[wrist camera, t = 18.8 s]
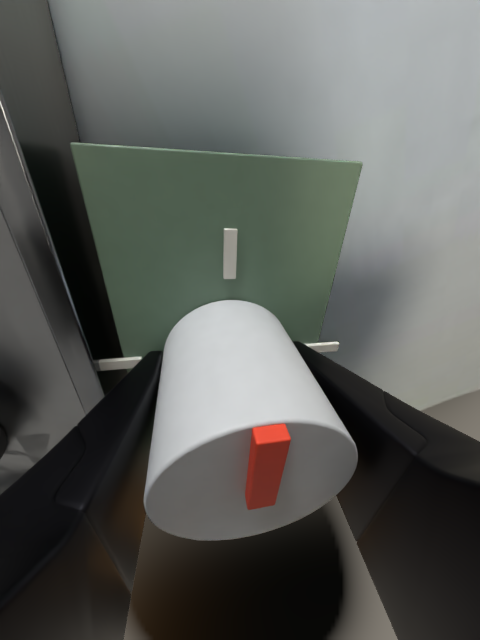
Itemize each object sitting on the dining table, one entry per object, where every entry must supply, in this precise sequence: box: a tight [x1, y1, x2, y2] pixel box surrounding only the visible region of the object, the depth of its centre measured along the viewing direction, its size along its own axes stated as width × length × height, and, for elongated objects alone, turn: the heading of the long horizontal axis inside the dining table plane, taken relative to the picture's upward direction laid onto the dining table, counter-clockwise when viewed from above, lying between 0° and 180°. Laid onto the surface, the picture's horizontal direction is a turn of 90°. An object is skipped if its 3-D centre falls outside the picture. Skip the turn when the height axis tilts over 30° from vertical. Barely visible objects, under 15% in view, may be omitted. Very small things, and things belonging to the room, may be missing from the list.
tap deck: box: [70, 142, 362, 373], centre depth 10 cm, size 9×12×3 cm
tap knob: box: [143, 300, 358, 540], centre depth 7 cm, size 4×4×5 cm
